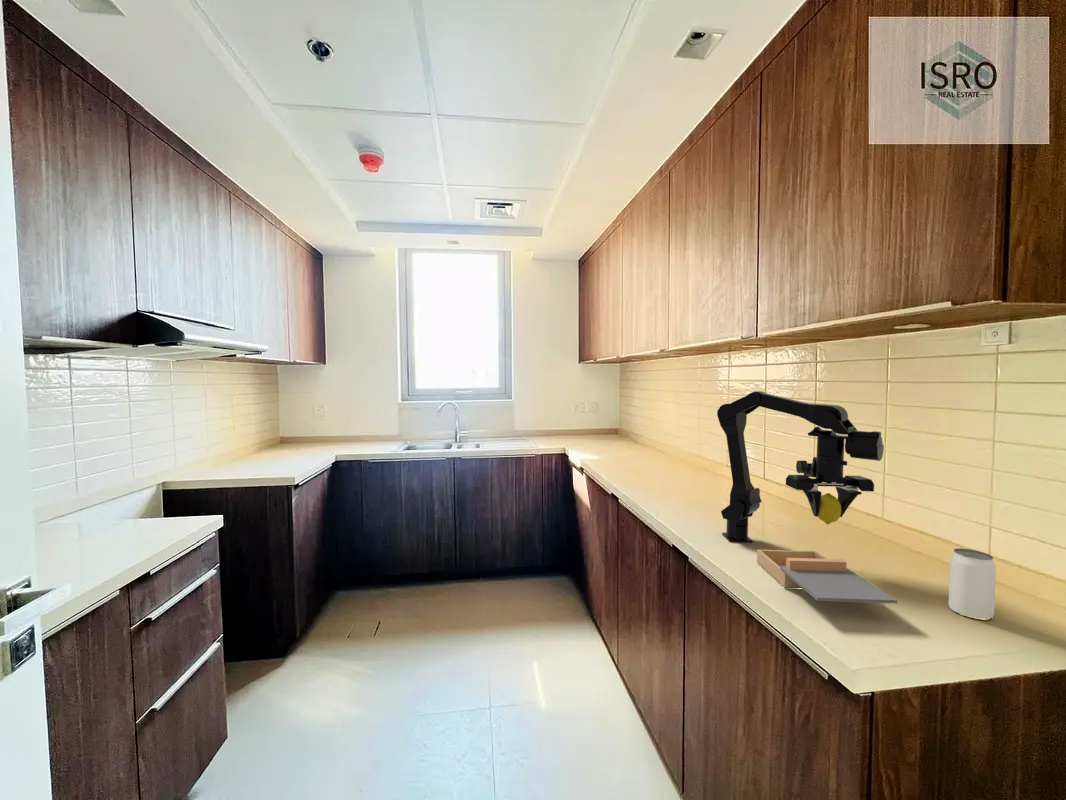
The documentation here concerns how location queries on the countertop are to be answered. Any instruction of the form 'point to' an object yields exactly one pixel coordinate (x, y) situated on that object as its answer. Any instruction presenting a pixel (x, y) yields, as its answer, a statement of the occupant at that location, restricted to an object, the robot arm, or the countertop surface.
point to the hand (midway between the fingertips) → (827, 516)
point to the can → (972, 583)
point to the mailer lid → (833, 581)
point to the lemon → (829, 508)
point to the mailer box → (782, 563)
